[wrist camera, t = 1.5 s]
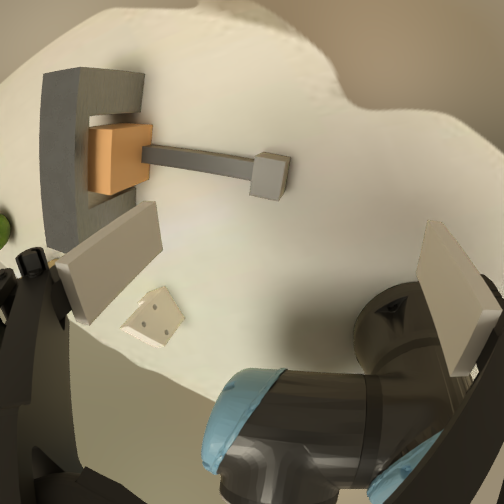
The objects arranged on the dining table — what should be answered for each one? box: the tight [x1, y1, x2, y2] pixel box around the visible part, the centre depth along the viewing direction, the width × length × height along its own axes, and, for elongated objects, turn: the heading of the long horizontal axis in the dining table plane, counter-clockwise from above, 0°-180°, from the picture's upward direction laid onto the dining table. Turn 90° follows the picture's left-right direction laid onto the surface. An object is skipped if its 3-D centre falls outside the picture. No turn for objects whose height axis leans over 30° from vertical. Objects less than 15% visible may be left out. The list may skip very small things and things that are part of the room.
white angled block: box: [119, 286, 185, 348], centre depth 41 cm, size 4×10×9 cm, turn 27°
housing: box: [39, 67, 145, 253], centre depth 31 cm, size 6×20×12 cm, turn 172°
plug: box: [88, 123, 291, 201], centre depth 31 cm, size 22×7×8 cm, turn 82°
